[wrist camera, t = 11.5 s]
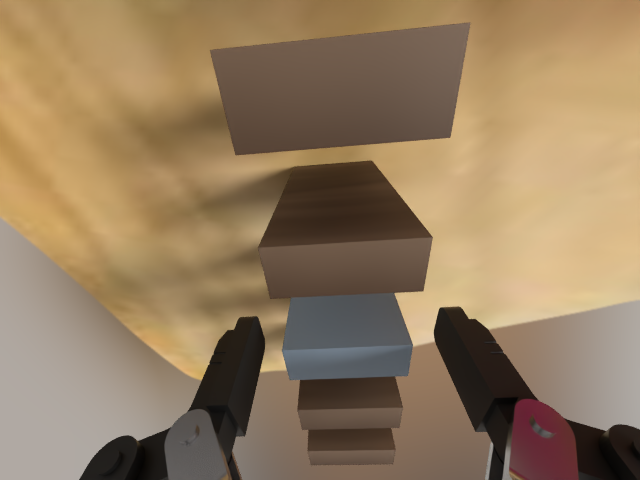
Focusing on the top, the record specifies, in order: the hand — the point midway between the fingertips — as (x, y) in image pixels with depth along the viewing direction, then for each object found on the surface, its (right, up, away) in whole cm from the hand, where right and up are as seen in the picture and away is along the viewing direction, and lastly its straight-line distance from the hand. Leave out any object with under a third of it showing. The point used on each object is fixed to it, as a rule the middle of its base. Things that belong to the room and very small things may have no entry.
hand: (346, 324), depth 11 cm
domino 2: (0, +8, +5) cm, 9 cm away
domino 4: (0, 0, +10) cm, 10 cm away
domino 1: (-1, +12, +3) cm, 12 cm away
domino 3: (0, +4, +8) cm, 8 cm away
